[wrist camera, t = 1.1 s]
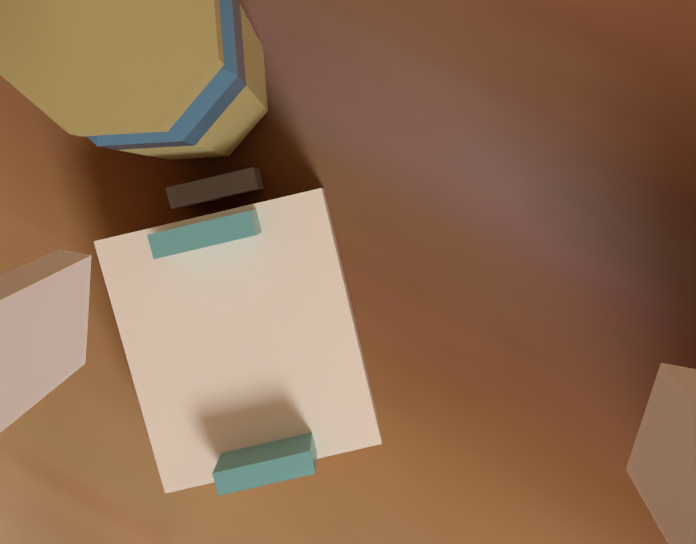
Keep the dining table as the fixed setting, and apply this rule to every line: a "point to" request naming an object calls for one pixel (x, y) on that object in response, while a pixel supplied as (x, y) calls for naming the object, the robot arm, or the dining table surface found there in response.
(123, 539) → the dining table surface
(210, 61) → the jar
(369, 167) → the dining table surface
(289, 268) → the block
